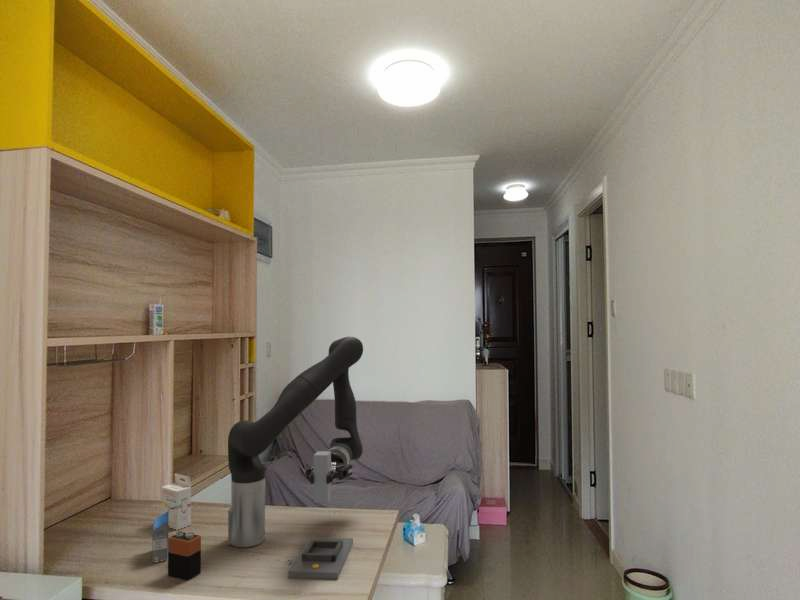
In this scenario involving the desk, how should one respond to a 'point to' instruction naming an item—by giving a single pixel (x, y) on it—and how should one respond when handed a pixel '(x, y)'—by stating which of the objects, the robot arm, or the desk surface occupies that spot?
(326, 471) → the plug
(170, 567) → the battery
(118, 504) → the desk surface
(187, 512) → the ink cartridge box
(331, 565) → the power dock
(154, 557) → the label tape cartridge
